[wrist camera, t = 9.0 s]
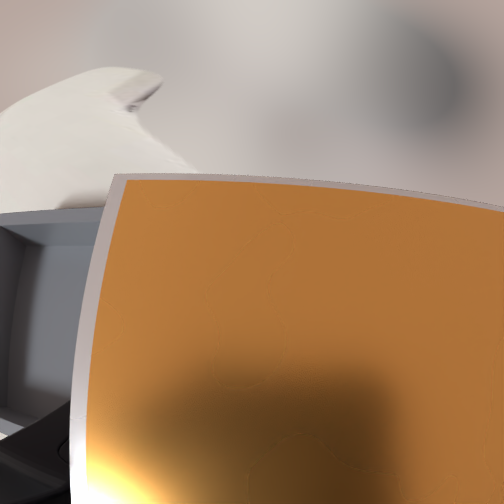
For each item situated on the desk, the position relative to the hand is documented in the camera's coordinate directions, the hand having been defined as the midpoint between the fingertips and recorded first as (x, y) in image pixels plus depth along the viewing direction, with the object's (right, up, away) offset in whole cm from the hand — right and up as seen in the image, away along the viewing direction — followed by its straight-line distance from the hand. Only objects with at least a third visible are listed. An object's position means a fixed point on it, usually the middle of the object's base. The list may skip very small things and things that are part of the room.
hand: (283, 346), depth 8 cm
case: (-11, -2, +8) cm, 14 cm away
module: (0, -4, +5) cm, 7 cm away
